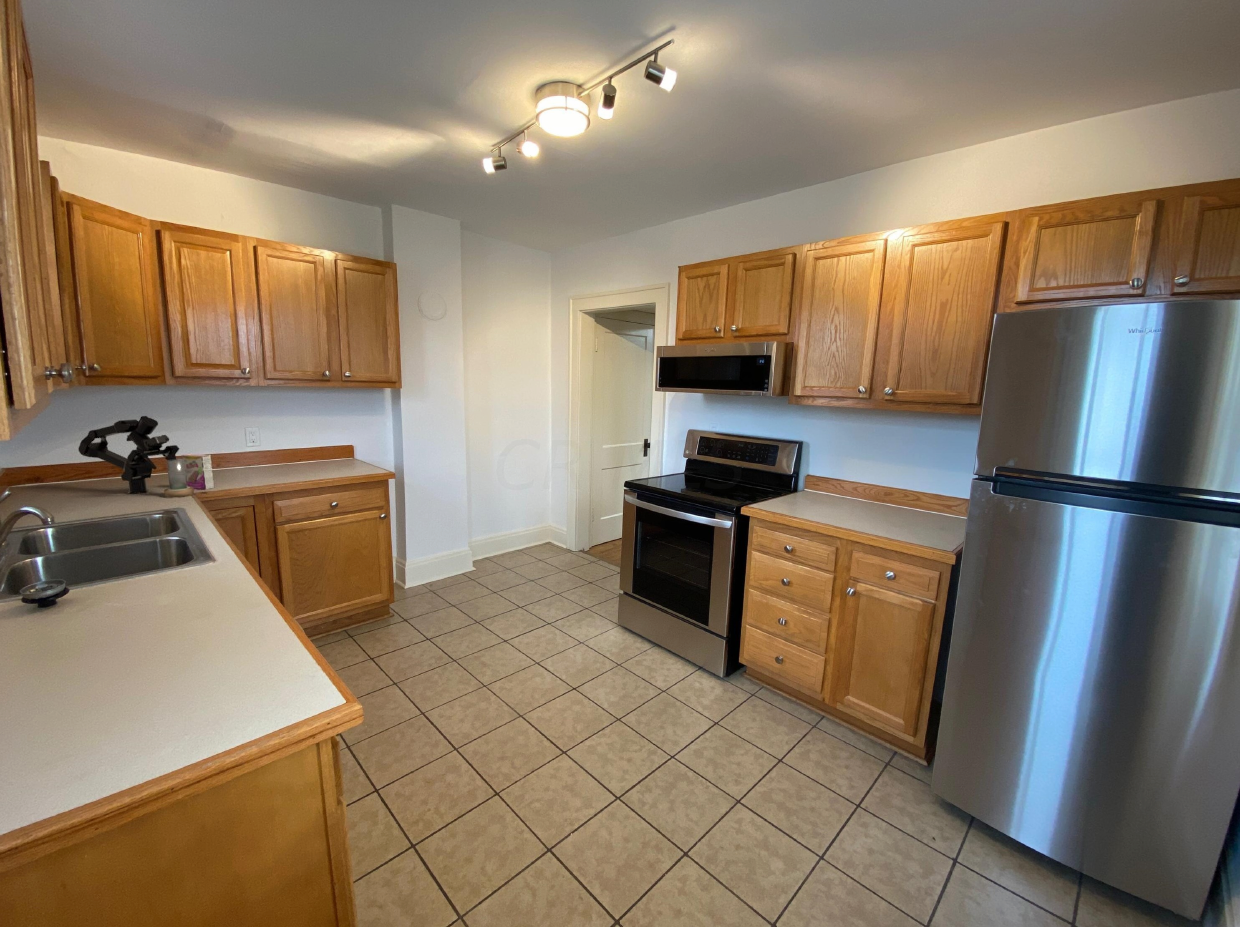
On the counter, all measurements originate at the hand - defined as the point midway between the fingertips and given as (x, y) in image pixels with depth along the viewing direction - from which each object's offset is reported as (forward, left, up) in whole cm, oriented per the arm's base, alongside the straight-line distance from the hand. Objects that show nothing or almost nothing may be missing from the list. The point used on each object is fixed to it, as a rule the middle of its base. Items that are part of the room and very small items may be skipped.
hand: (166, 466), depth 228 cm
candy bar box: (-10, +10, -13) cm, 19 cm away
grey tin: (+4, +4, -10) cm, 11 cm away
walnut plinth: (+4, +4, -13) cm, 14 cm away
